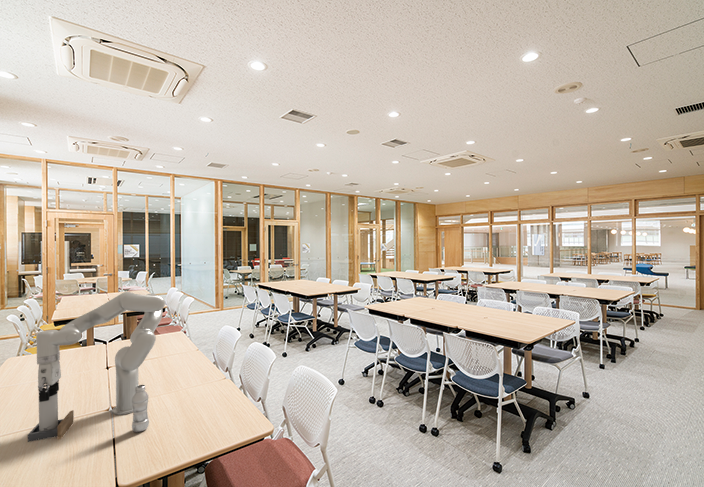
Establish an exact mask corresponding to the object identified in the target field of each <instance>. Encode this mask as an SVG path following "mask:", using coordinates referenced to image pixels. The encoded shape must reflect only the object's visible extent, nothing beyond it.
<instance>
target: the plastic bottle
mask: <svg viewBox="0 0 704 487" xmlns="http://www.w3.org/2000/svg"><path fill="white" fill-rule="evenodd" d="M135 392H136V393H135V394H134V396H133V397H132V406H133V412H132V413H133V415H132V423H131V429H132V431H133V432H134V433H140V432H144V431H145V430H147V429H148V428H149V425H150V419H149V415H148V403H149V394H148V392H146V385H145V384H138V386H136V388H135Z"/></svg>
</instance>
